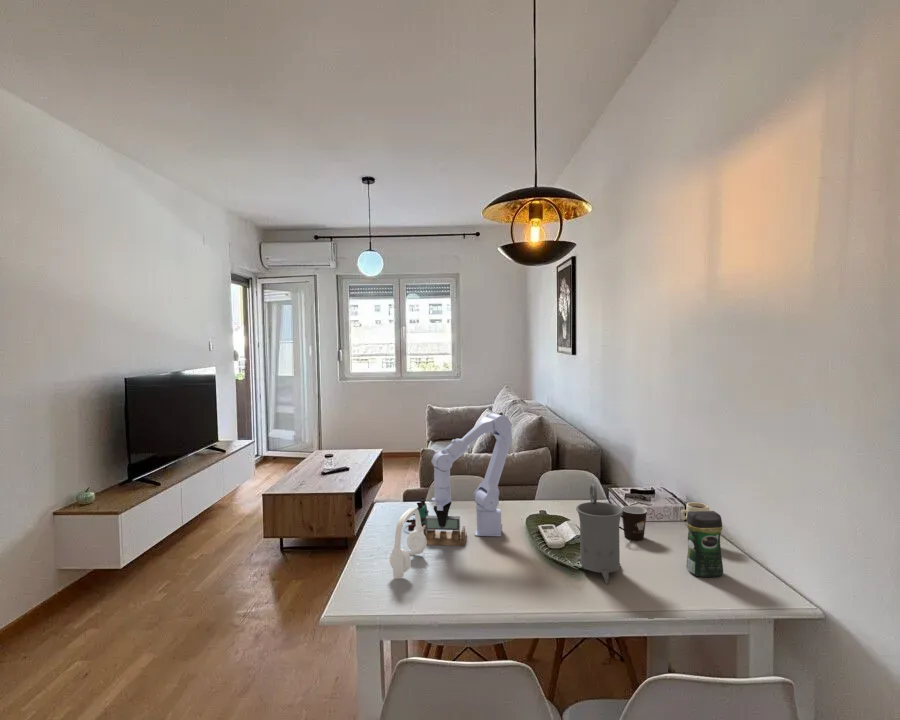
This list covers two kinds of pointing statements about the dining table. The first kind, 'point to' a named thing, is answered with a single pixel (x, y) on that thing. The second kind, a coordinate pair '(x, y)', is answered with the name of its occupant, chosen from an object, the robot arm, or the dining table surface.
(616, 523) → the gray footed pot
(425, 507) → the binoculars
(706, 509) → the character mug
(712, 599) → the dining table surface
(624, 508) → the coffee mug
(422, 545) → the headset
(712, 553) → the coffee jar
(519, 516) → the dining table surface
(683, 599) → the dining table surface
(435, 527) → the grey rectangular box
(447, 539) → the stand
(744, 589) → the dining table surface
